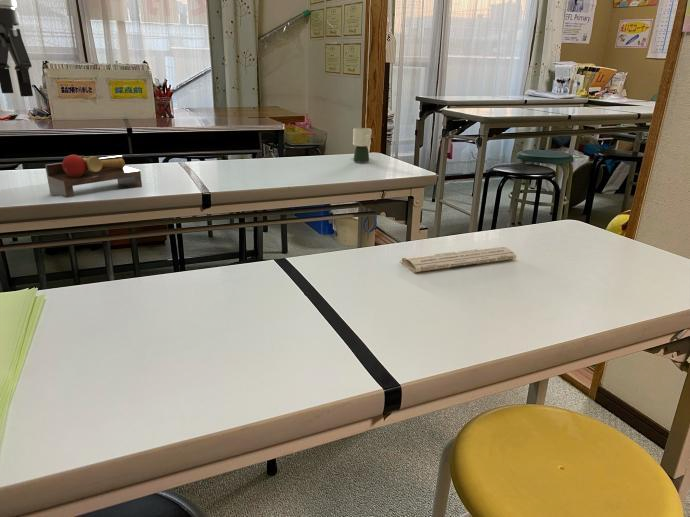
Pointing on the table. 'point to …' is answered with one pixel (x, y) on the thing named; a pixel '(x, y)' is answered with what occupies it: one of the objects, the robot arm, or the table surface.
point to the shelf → (89, 178)
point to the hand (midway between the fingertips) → (17, 94)
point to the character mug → (361, 143)
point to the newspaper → (458, 258)
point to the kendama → (88, 164)
